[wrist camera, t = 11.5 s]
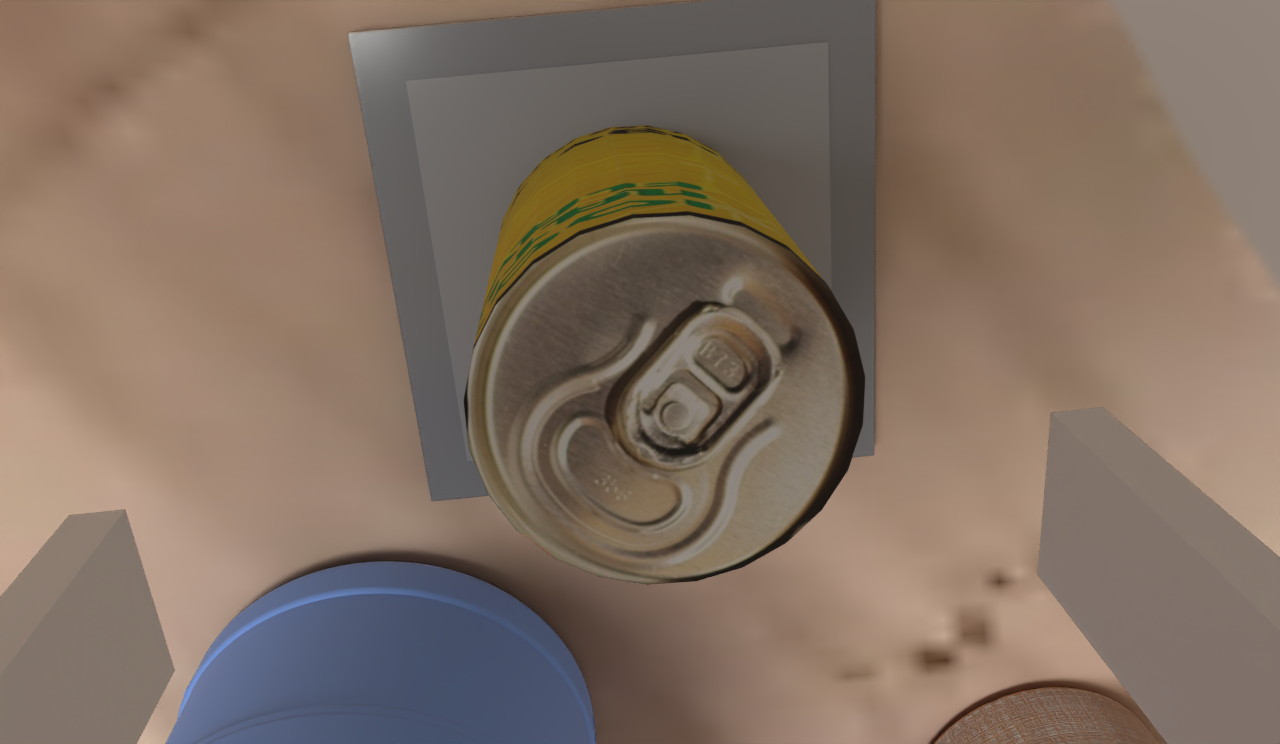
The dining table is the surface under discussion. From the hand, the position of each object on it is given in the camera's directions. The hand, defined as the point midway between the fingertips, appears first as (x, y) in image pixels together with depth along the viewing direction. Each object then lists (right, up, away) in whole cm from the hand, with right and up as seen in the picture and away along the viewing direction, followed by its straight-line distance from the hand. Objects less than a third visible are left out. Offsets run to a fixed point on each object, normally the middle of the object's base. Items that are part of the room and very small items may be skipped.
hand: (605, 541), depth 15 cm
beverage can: (0, +6, +20) cm, 21 cm away
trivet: (0, +6, +20) cm, 21 cm away
